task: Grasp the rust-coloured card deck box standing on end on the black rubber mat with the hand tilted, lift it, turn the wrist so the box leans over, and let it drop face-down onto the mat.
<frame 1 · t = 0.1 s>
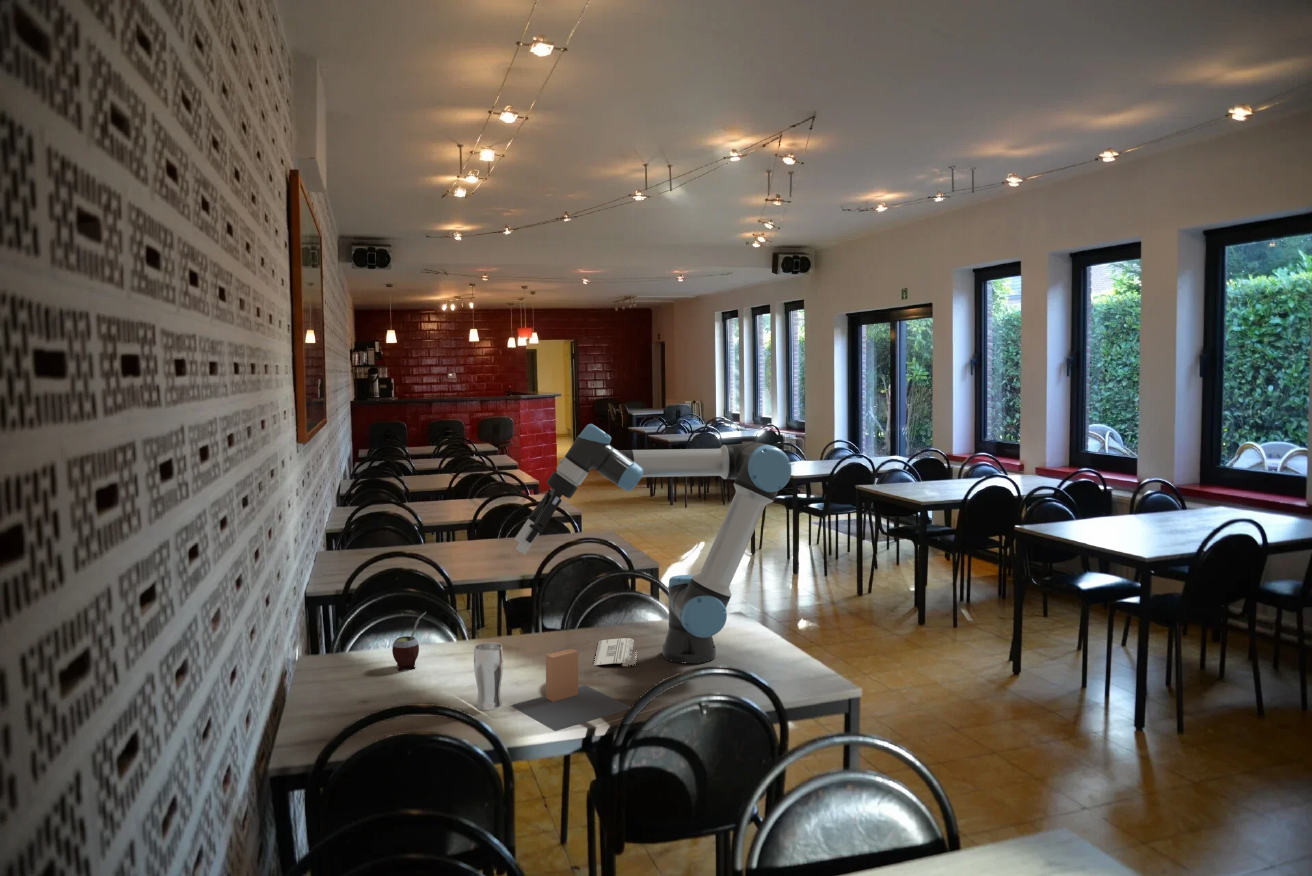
hand: (519, 546, 233), 36 cm above the table, tool tilted 35°, fingers open, 13 cm apart
card deck box: (562, 696, 225), resting on rubber mat
mate gourd: (407, 668, 248), on the table
newspaper: (617, 657, 259), on the table
beer glass: (489, 708, 219), on the table
rubber mat: (571, 708, 218), on the table
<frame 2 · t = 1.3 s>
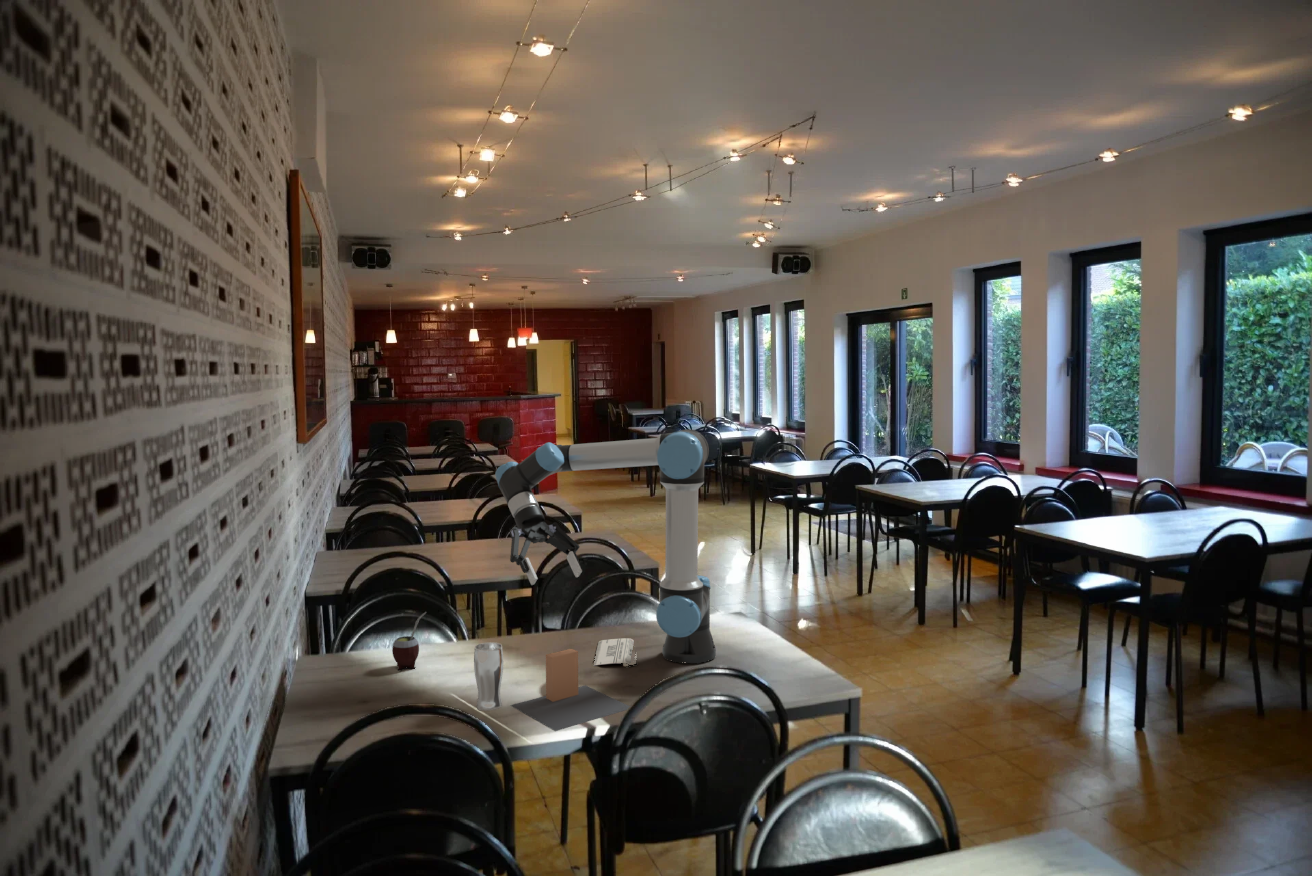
hand: (557, 578, 235), 27 cm above the table, tool tilted 45°, fingers open, 13 cm apart
nothing on the table moved.
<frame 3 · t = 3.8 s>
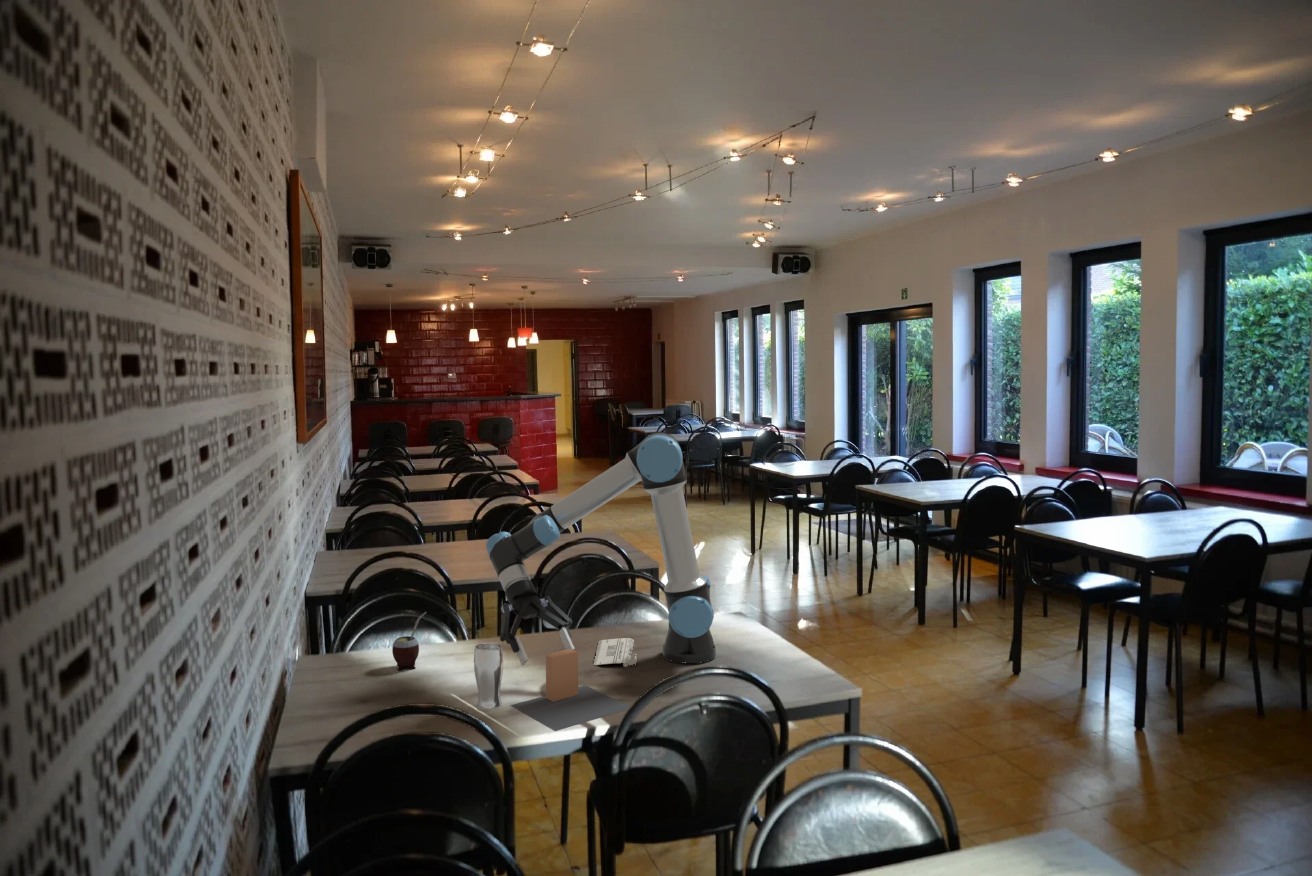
hand: (548, 657, 227), 9 cm above the table, tool tilted 45°, fingers open, 13 cm apart
nothing on the table moved.
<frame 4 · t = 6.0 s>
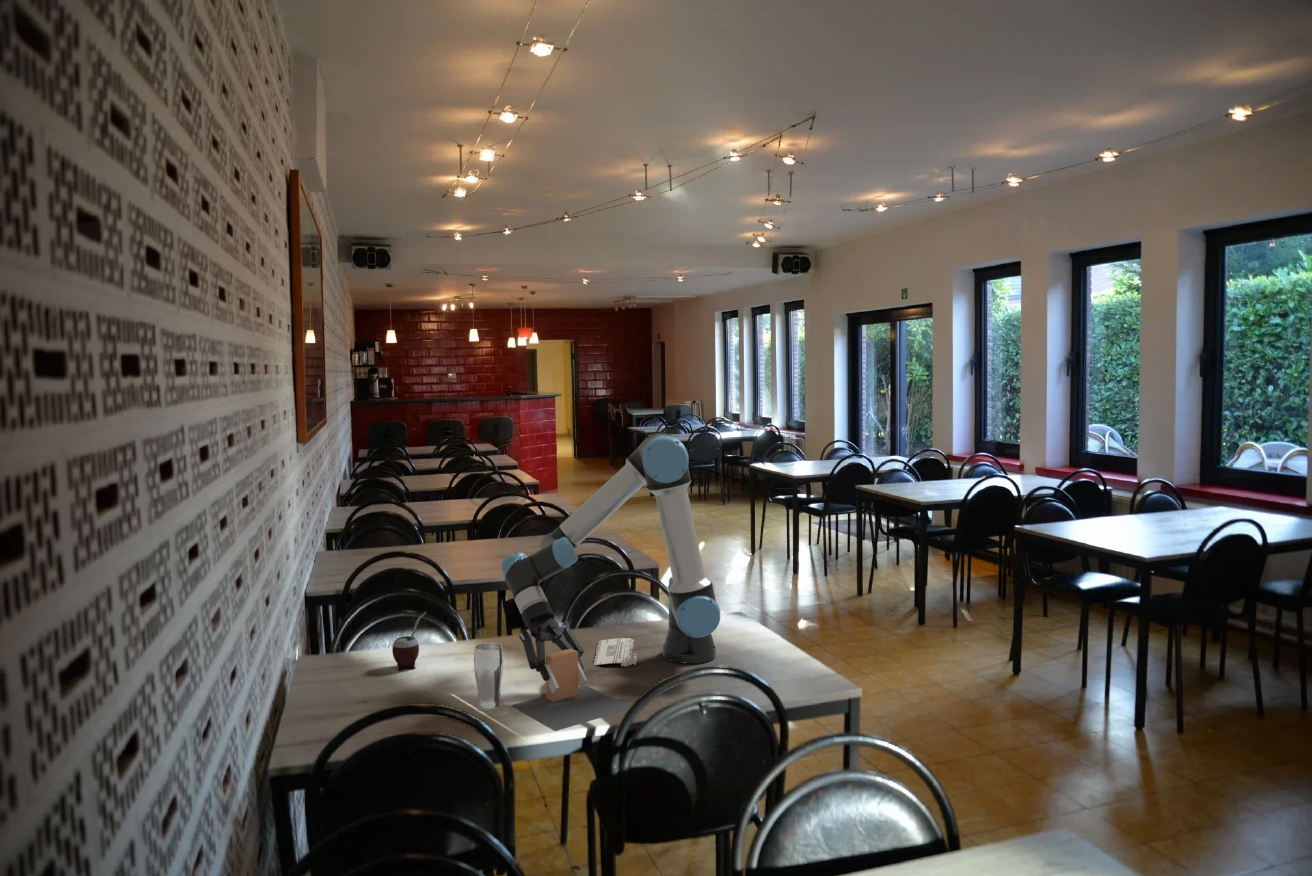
hand: (570, 686, 222), 4 cm above the table, tool tilted 45°, fingers closed on card deck box, 7 cm apart
card deck box: (562, 696, 225), resting on rubber mat, touching gripper
everything else where it was.
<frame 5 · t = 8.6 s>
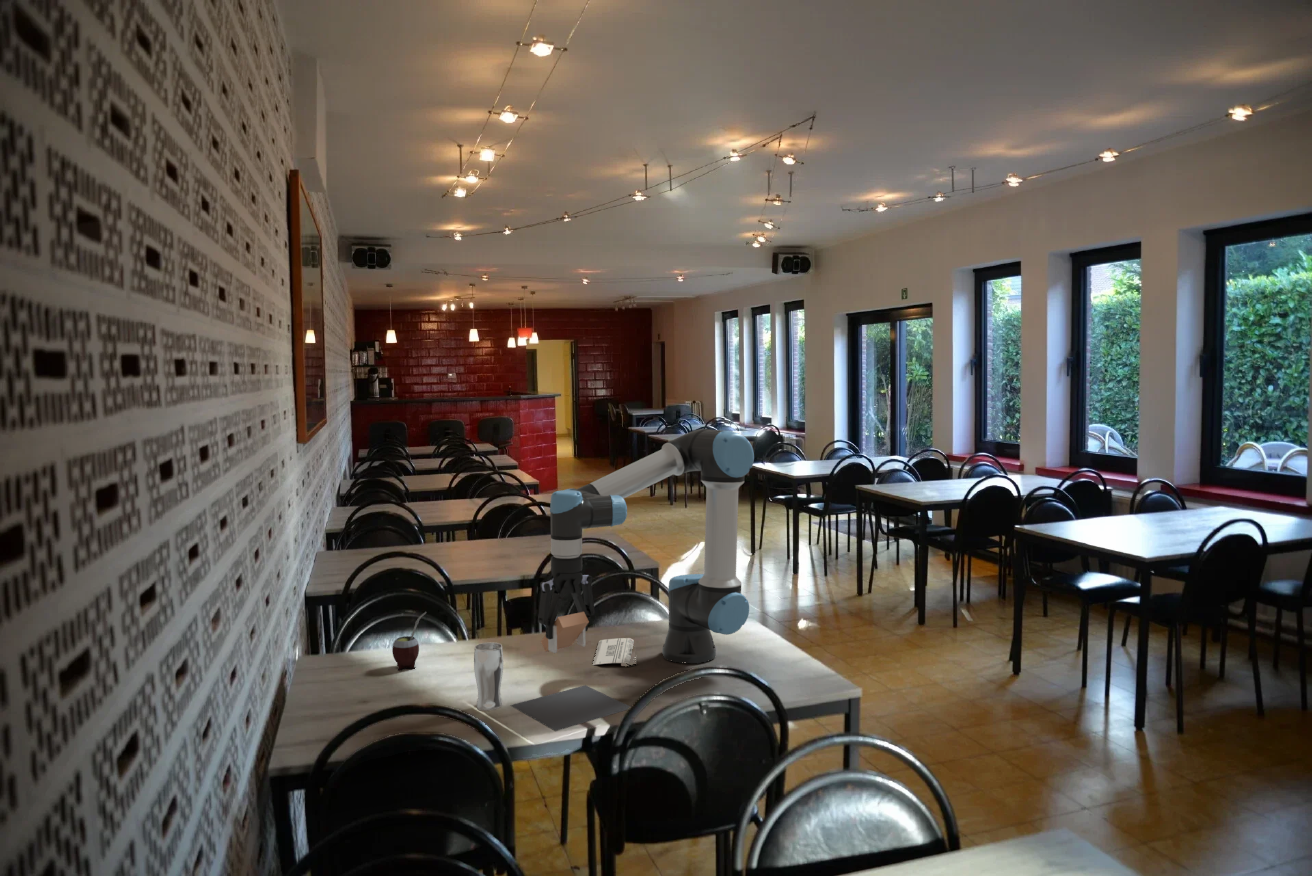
hand: (567, 648, 220), 14 cm above the table, tool pointing down, fingers closed on card deck box, 7 cm apart
card deck box: (556, 643, 224), point 14 cm above the table, tilted 45°, touching gripper
everything else where it was.
when the fingers open (3 cm above the table, at t = 10.9 s): card deck box drops 1 cm and tips over, resting on rubber mat.
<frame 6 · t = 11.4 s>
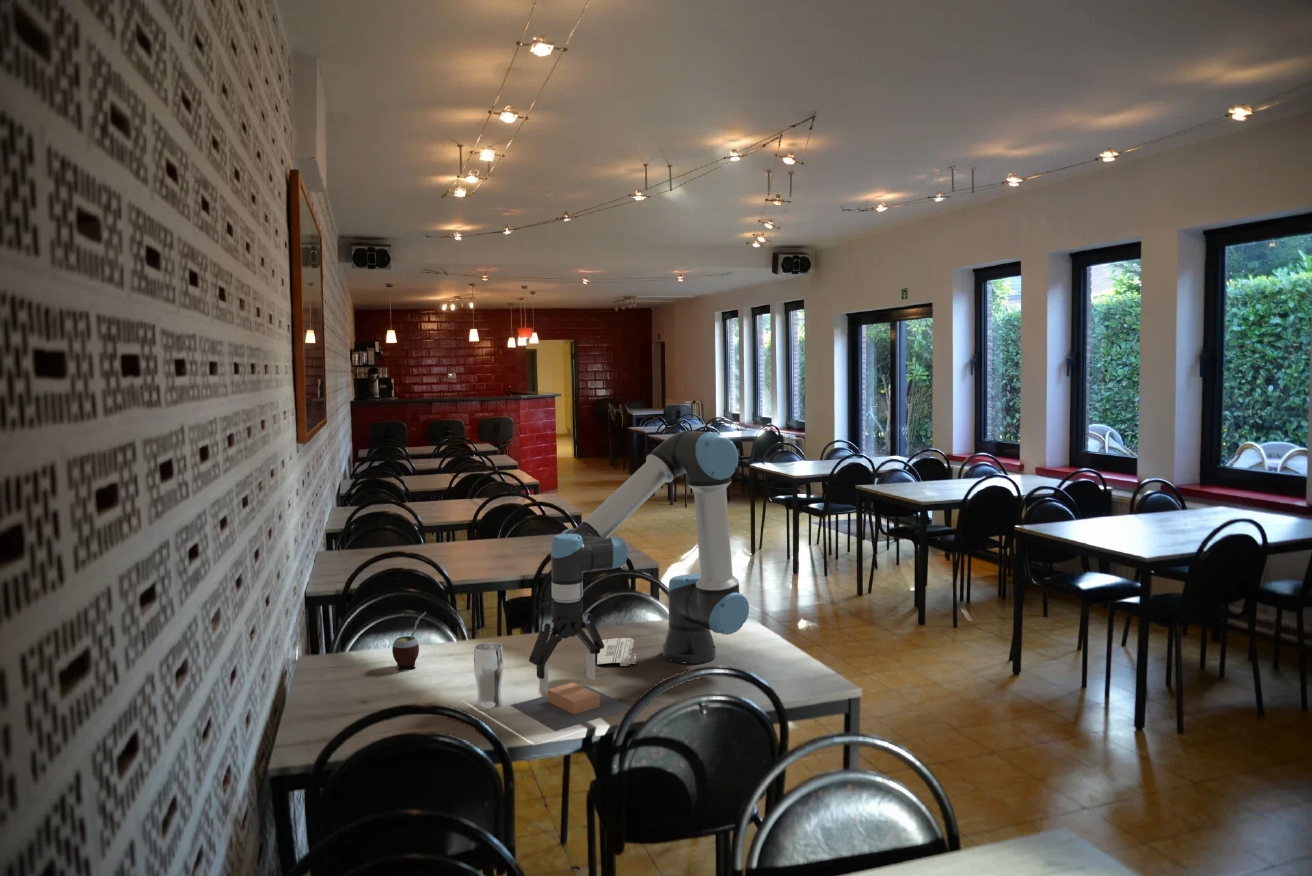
hand: (567, 684, 221), 5 cm above the table, tool pointing down, fingers open, 13 cm apart
card deck box: (560, 691, 224), point 2 cm above the table, tilted 90°, touching rubber mat
everything else where it was.
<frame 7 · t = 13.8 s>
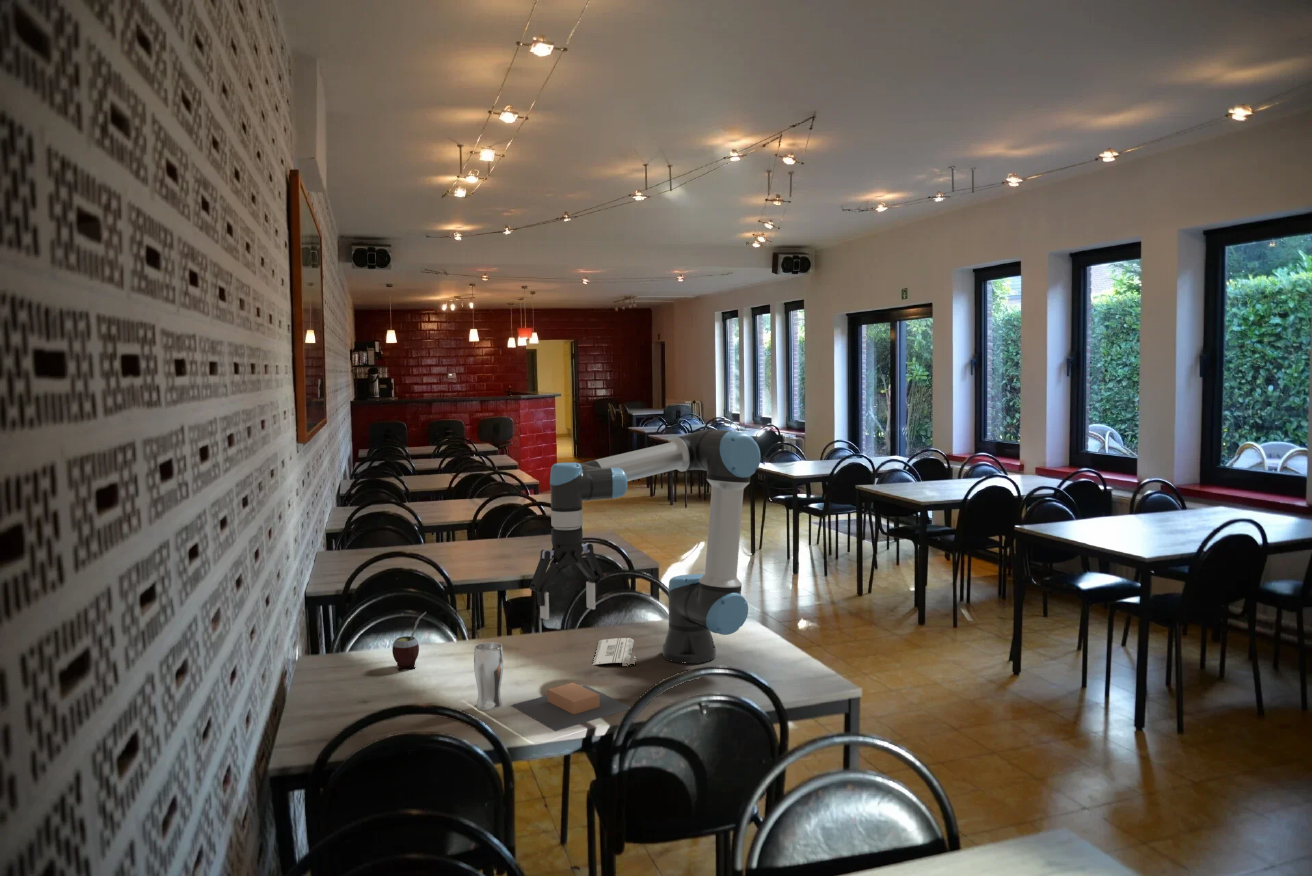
hand: (568, 613, 221), 22 cm above the table, tool pointing down, fingers open, 13 cm apart
nothing on the table moved.
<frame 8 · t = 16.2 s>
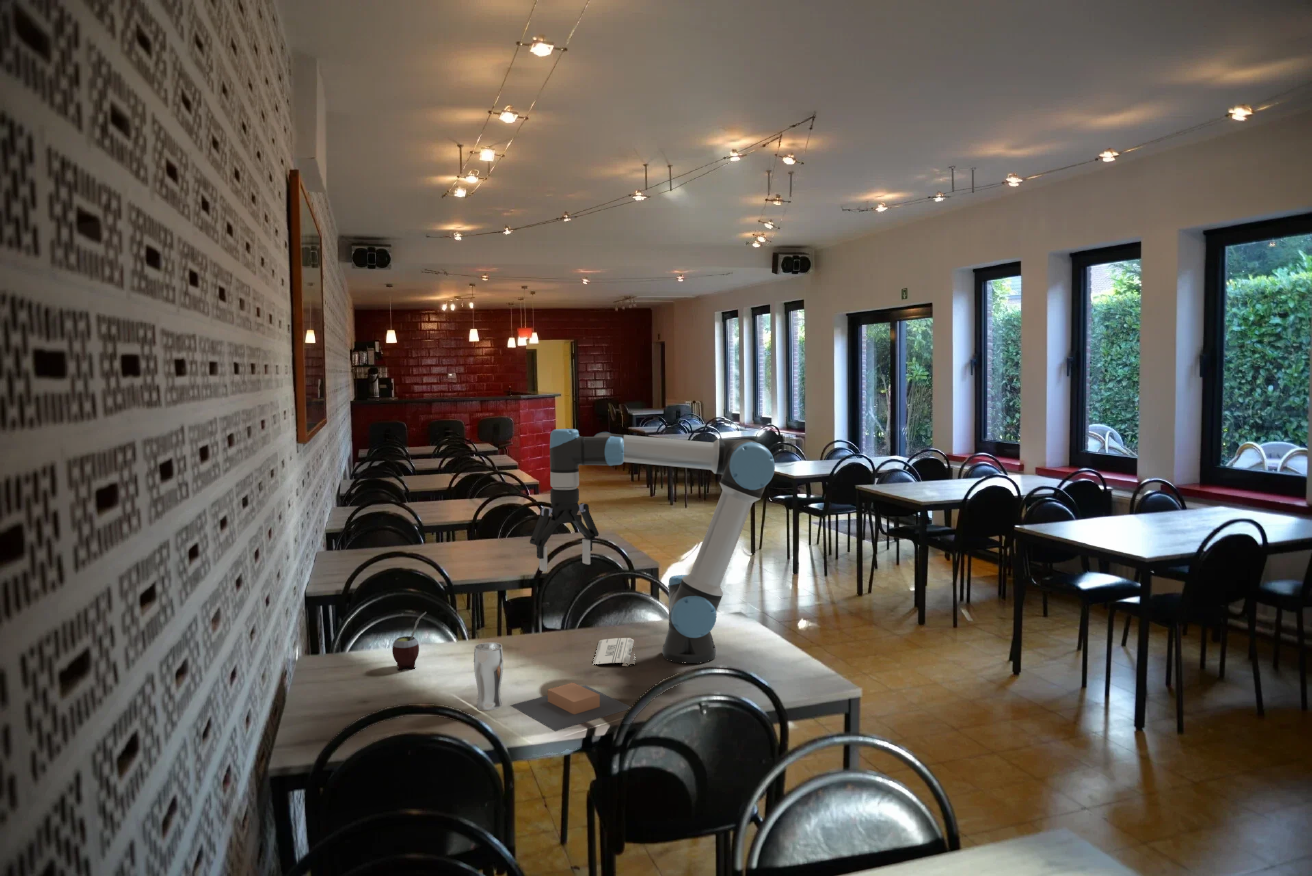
hand: (565, 567, 241), 29 cm above the table, tool pointing down, fingers open, 13 cm apart
nothing on the table moved.
at the end: card deck box tilted 90°; card deck box inside the target area (6.6 cm from its centre), point 1.9 cm above the table; the gripper is holding nothing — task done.
